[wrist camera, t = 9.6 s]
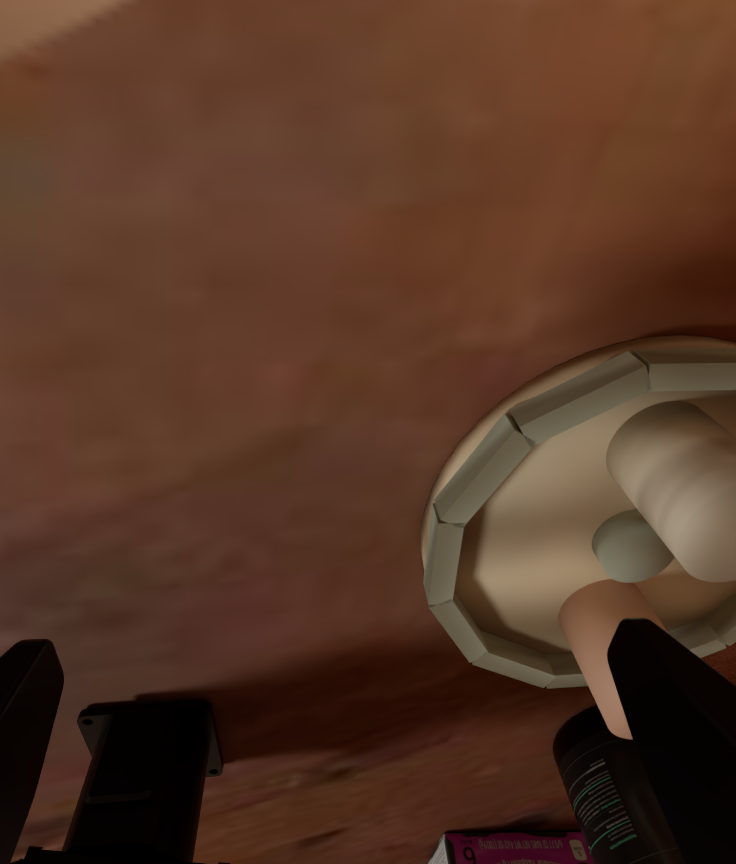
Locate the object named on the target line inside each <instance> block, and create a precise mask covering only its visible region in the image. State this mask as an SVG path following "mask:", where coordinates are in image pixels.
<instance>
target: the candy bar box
mask: <svg viewBox="0 0 736 864" xmlns="http://www.w3.org/2000/svg"><path fill="white" fill-rule="evenodd" d="M428 864H593V863H592V860H591V857H590V854H589V852H588V849H587V846H586V844H585V841H584V838H583V835H582V833H581V832H509V833H444V834H443V836H442V837H441V838H440V841H439V843H438V846H437V848H436V850H435V851H434V853H433V854H432V856H431V858H430V860H429V862H428Z"/></svg>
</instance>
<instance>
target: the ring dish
mask: <svg viewBox="0 0 736 864" xmlns="http://www.w3.org/2000/svg"><path fill="white" fill-rule="evenodd" d="M666 401H683V402H688V403H691V404H693V405H695V406H697V407H699V408H700V409H701V410H702V411H704V412H705V413H706V414H707V415H709V416H710V417H711V418H712V419H714V420H715V421H716V422H717V423H718V424H720V425H721V426H722V427H723V428H725V429H726V430H727V431H728V432H730V433H731V434H732V435H733V436H735V437H736V343H735V342H731V341H726V340H721V339H716V338H711V337H703V336H686V335H673V336H659V337H647V338H642V339H637V340H632V341H627V342H622V343H617V344H613V345H610V346H607V347H604V348H601V349H597V350H594V351H591V352H588V353H585V354H583V355H580V356H578V357H576V358H573V359H571V360H569V361H567V362H564V363H562V364H560V365H557V366H555V367H553V368H552V369H550V370H548V371H546V372H545V373H543V374H541V375H539V376H538V377H536V378H534V379H532V380H530V381H529V382H527V383H526V384H524V385H523V386H521V387H520V388H519V389H517V390H516V391H514V392H513V393H512V394H510V395H509V396H507V397H506V398H505V399H503V400H502V401H501V402H499V403H498V404H497V405H496V406H495V407H494V408H493V409H492V410H490V411H489V412H488V413H487V414H486V415H485V416H484V417H483V418H481V419H480V420H479V421H478V422H477V423H476V425H475V426H474V427H473V428H472V429H471V430H470V431H469V432H468V433H467V435H466V436H465V437H464V438H463V439H462V440H461V441H460V442H459V444H458V445H457V447H456V448H455V450H454V451H453V452H452V454H451V455H450V457H449V458H448V460H447V461H446V462H445V464H444V466H443V467H442V469H441V471H440V473H439V475H438V477H437V479H436V481H435V483H434V485H433V487H432V489H431V492H430V495H429V498H428V501H427V504H426V507H425V510H424V516H423V521H422V526H421V554H422V560H423V566H424V570H425V573H424V582H423V584H424V588H425V592H426V597H427V601H428V605H429V608H430V610H431V611H432V613H433V614H434V615H435V617H436V618H437V619H438V621H439V622H440V623H441V625H442V626H443V627H444V629H445V630H446V631H447V633H448V634H449V636H450V637H451V638H452V640H453V641H454V642H455V644H456V645H457V646H458V648H459V649H460V650H461V652H462V653H463V654H464V656H465V657H466V659H467V660H468V661H469V663H471V662H472V665H475V666H478V667H481V668H484V669H487V670H490V671H493V672H496V673H499V674H502V675H505V676H508V677H511V678H514V679H517V680H520V681H523V682H526V683H529V684H532V685H535V686H538V687H541V688H544V687H547V689H550V688H565V687H579V686H588V684H587V682H586V680H585V678H584V676H583V674H582V671H581V669H580V667H579V665H578V663H577V661H576V659H575V657H574V654H573V652H572V650H571V648H570V646H569V644H568V642H567V640H566V638H565V635H564V633H563V631H562V629H561V627H560V625H559V622H558V614H559V611H560V608H561V606H562V605H563V603H564V602H565V601H566V599H567V598H568V597H569V596H571V595H572V594H573V593H574V592H576V591H577V590H579V589H580V588H582V587H584V586H586V585H588V584H591V583H594V582H597V581H601V580H608V579H614V580H616V581H618V582H624V583H633V584H634V585H636V586H637V587H638V588H639V590H640V591H641V593H642V594H643V596H644V597H645V599H646V600H647V602H648V603H649V605H650V606H651V608H652V609H653V611H654V612H655V614H656V615H657V617H658V618H659V620H660V621H661V623H662V624H663V626H664V627H665V629H666V630H667V632H668V633H669V634H670V635H671V636H672V637H673V638H675V639H676V640H677V641H679V642H680V643H681V644H682V645H684V646H685V647H686V648H688V649H689V650H690V651H691V652H693V653H694V654H695V655H697V656H698V657H699V658H702V657H704V656H707V655H710V654H712V653H715V652H717V651H720V650H723V649H725V648H726V646H725V644H726V645H729V646H731V645H732V644H733V643H735V642H736V580H734V581H729V582H707V581H703V580H700V579H697V578H695V577H693V576H691V575H690V574H689V573H688V572H687V571H686V570H685V569H684V568H683V566H682V565H681V564H680V563H679V561H678V560H677V559H676V557H675V556H674V555H673V554H672V552H671V551H670V550H669V549H668V547H667V546H666V545H665V543H664V542H663V541H662V540H661V538H660V537H659V536H658V535H657V533H656V532H655V531H654V530H653V528H652V527H651V526H650V524H649V523H648V522H647V521H646V519H645V518H644V517H643V516H642V514H641V513H640V512H639V511H638V509H637V508H636V507H635V505H634V504H633V503H632V502H631V500H630V499H629V498H628V497H627V495H626V494H625V493H624V492H623V490H622V489H621V488H620V486H619V485H618V484H617V483H616V481H615V480H614V479H613V478H612V476H611V475H610V473H609V471H608V469H607V465H606V453H607V449H608V446H609V443H610V441H611V439H612V437H613V436H614V434H615V433H616V431H617V430H618V429H619V428H620V427H621V425H622V424H623V423H624V422H626V421H627V420H628V419H629V418H630V417H632V416H633V415H634V414H636V413H637V412H639V411H641V410H643V409H644V408H647V407H649V406H651V405H654V404H657V403H661V402H666Z"/></svg>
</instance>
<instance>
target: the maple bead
mask: <svg viewBox="0 0 736 864" xmlns="http://www.w3.org/2000/svg"><path fill="white" fill-rule="evenodd" d="M606 465H607V469H608V471H609V473H610V475H611V476H612V478H613V479H614V480H615V481H616V483H617V484H618V485H619V486H620V488H621V489H622V490H623V492H624V493H625V494H626V495H627V497H628V498H629V499H630V500H631V502H632V503H633V504H634V505H635V507H636V508H637V509H638V511H639V512H640V513H641V514H642V516H643V517H644V518H645V519H646V521H647V522H648V523H649V524H650V526H651V527H652V528H653V530H654V531H655V532H656V533H657V535H658V536H659V537H660V538H661V540H662V541H663V542H664V543H665V545H666V546H667V547H668V549H669V550H670V551H671V552H672V554H673V555H674V556H675V557H676V559H677V560H678V561H679V563H680V564H681V565H682V566H683V568H684V569H685V570H686V571H687V572H688V573H689V574H690V575H691V576H693V577H695V578H697V579H700V580H703V581H707V582H729V581H734V580H736V437H735V436H733V435H732V434H731V433H730V432H728V431H727V430H726V429H725V428H723V427H722V426H721V425H720V424H718V423H717V422H716V421H715V420H714V419H712V418H711V417H710V416H709V415H707V414H706V413H705V412H704V411H702V410H701V409H700V408H699V407H697V406H695V405H693V404H691V403H688V402H683V401H666V402H661V403H657V404H654V405H651V406H649V407H647V408H644V409H643V410H641V411H639V412H637V413H636V414H634V415H633V416H632V417H630V418H629V419H628V420H627V421H626V422H624V423H623V424H622V425H621V427H620V428H619V429H618V430H617V431H616V433H615V434H614V436H613V437H612V439H611V441H610V443H609V446H608V449H607V453H606Z"/></svg>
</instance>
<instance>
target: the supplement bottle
mask: <svg viewBox="0 0 736 864" xmlns="http://www.w3.org/2000/svg"><path fill="white" fill-rule="evenodd" d="M553 755H554V758H555V761H556V764H557V767H558V770H559V773H560V776H561V778H562V781H563V784H564V786H565V789H566V792H567V795H568V797H569V800H570V803H571V805H572V808H573V811H574V814H575V816H576V819H577V822H578V824H579V827H580V830H581V833H582V835H583V838H584V841H585V844H586V846H587V849H588V852H589V854H590V857H591V860H592V863H593V864H685V863H684V861H683V858H682V856H681V854H680V851H679V849H678V847H677V845H676V842H675V840H674V838H673V835H672V833H671V831H670V828H669V826H668V824H667V821H666V819H665V817H664V815H663V812H662V810H661V808H660V805H659V803H658V801H657V798H656V796H655V794H654V792H653V789H652V787H651V785H650V782H649V780H648V778H647V775H646V773H645V771H644V768H643V766H642V763H641V761H640V758H639V756H638V753H637V750H636V747H635V745H634V742H633V740H632V739H625V738H621V737H618V736H616V735H614V734H613V733H612V732H611V731H610V730H609V729H608V727H607V725H606V722H605V720H604V718H603V716H602V714H601V712H600V710H599V708H598V706H597V707H594V708H591V709H588V710H586V711H584V712H582V713H580V714H578V715H576V716H575V717H573V718H571V719H570V720H569V721H567V722H566V723H565V724H564V725H563V726H562V727H561V728H560V730H559V731H558V733H557V734H556V736H555V739H554V742H553Z"/></svg>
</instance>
